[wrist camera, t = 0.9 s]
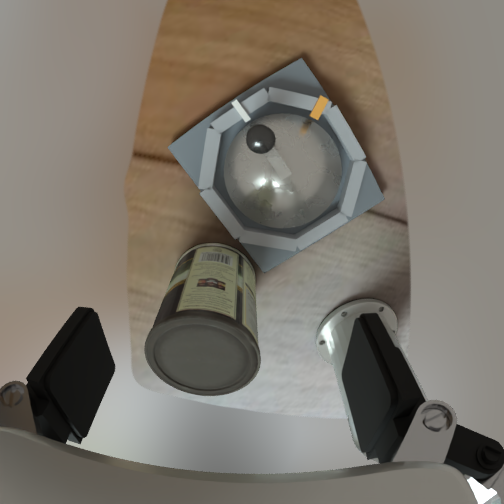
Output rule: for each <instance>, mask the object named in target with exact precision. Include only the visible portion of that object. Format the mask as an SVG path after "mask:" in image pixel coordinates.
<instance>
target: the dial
mask: <svg viewBox="0 0 504 504" xmlns="http://www.w3.org/2000/svg"><path fill="white" fill-rule="evenodd" d="M341 175H342V166H341V159H340V155H339V152H338V149H337V147H336V145H335V143H334V141H333V140H332V138H331V137H330V135H329V134H328V133H327V132H326V131H325V130H324V129H323V128H322V127H320V126H319V125H318V124H316V123H315V122H313V121H312V120H309V119H307V118H305V117H302V116H299V115H294V114H284V113H279V114H271V115H267V116H263V117H261V118H258V119H256V120H254V121H253V122H251V123H249V124H248V125H247V126H245V127H244V128H243V129H242V130H241V131H240V132H239V133H238V134H237V136H236V137H235V138H234V140H233V141H232V143H231V145H230V147H229V149H228V151H227V154H226V158H225V163H224V179H225V185H226V188H227V191H228V194H229V196H230V198H231V200H232V201H233V203H234V204H235V205H236V207H237V208H238V209H239V210H240V211H241V212H242V213H243V214H244V215H245V216H247V217H248V218H250V219H251V220H253V221H255V222H257V223H259V224H262V225H264V226H268V227H273V228H292V227H297V226H301V225H303V224H306V223H308V222H310V221H312V220H314V219H315V218H317V217H318V216H320V215H321V214H322V213H323V212H324V211H325V210H326V209H327V208H328V207H329V206H330V204H331V203H332V201H333V200H334V198H335V196H336V194H337V192H338V189H339V186H340V182H341Z"/></svg>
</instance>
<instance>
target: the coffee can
mask: <svg viewBox="0 0 504 504" xmlns="http://www.w3.org/2000/svg"><path fill="white" fill-rule="evenodd" d="M255 282H256V279H255V272H254V269H253V266H252V265H251V263H250V261H249V260H248V259H247V257H246V256H245V255H244V254H242V253H241V252H240V251H238V250H237V249H235V248H233V247H231V246H228V245H225V244H220V243H205V244H200V245H197V246H195V247H193V248H191V249H189V250H188V251H186V252H185V253H184V254H183V255H182V256H181V258H180V259H179V261H178V262H177V264H176V267H175V271H174V274H173V276H172V279H171V281H170V284H169V286H168V289H167V291H166V294H165V297H164V299H163V302H162V304H161V307H160V309H159V312H158V314H157V317H156V319H155V322H154V325H153V328H152V329H151V331H150V332H149V334H148V337H147V339H146V342H145V356H146V360H147V362H148V364H149V366H150V367H151V369H152V370H153V372H154V373H155V374H156V375H157V376H158V377H159V378H160V379H161V380H163V381H164V382H165V383H167V384H169V385H170V386H172V387H174V388H176V389H178V390H181V391H184V392H187V393H191V394H195V395H202V396H218V395H225V394H229V393H232V392H235V391H238V390H240V389H242V388H243V387H245V386H246V385H248V384H249V383H250V382H251V381H252V380H253V379H254V378H255V377H256V375H257V373H258V371H259V368H260V363H261V358H260V350H259V347H258V332H257V313H256V293H255Z"/></svg>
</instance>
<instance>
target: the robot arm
mask: <svg viewBox="0 0 504 504" xmlns="http://www.w3.org/2000/svg"><path fill="white" fill-rule="evenodd" d="M397 327H398V321H397V318H396V315H395V313H394V311H393V310H392V309H391V307H390V306H389V305H387V304H386V303H385V302H382V301H380V300H376V299H360V300H355V301H352V302H349V303H346V304H344V305H342V306H341V307H339V308H337V309H336V310H334V311H333V312H332V313H330V314H329V315H328V316H327V317H326V318H325V320H324V321H323V322H322V324H321V325H320V327H319V329H318V331H317V335H316V346H317V351H318V353H319V355H320V356H321V358H322V359H323V360H324V361H326V362H327V363H329V364H331V365H333V368H334V371H335V375H336V378H337V382H338V385H339V389H340V393H341V396H342V400H343V404H344V408H345V411H346V415H347V419H348V422H349V427H350V431H351V434H352V438H353V441H354V444H355V445H356V447H357V448H358V450H359V451H360V452H361V453H362V454H363V455H365V456H366V457H367V459H368V460H369V459H372V460H374V461H377V462H379V463H380V464H373V465H366V466H359V467H352V468H345V469H338V470H337V469H336V470H327V471H315V472H303V473H285V474H233V473H232V474H231V473H214V472H202V471H191V470H183V469H174V468H167V467H160V466H154V465H149V464H143V463H138V462H133V461H128V460H123V459H119V458H115V457H110V456H106V455H102V454H99V453H95V452H91V451H88V450H84V449H80V448H77V447H74V446H71V445H67V444H66V442H67V439H68V440H69V441H72V442H75V443H78V444H81V441H82V439H83V438H85V437H86V436H87V434H88V432H89V430H90V427H91V425H92V422H93V420H94V417H95V415H96V413H97V410H98V408H99V406H100V403H101V401H102V399H103V397H104V394H105V392H106V390H107V387H108V385H109V383H110V381H111V379H112V376H113V374H114V372H115V364H114V360H113V358H112V355H111V353H110V350H109V347H108V344H107V341H106V338H105V335H104V332H103V329H102V326H101V323H100V320H99V316H98V314H97V313H96V312H94V310H93V309H92V308H86V307H78V308H77V309H76V310H75V311H74V312H73V314H72V315H71V316H70V317H69V319H68V320H67V321H66V323H65V324H64V325H63V327H62V328H61V330H60V331H59V332H58V333H57V335H56V336H55V338H54V339H53V340H52V342H51V343H50V345H49V346H48V347H47V349H46V350H45V351H44V353H43V354H42V356H41V357H40V359H39V360H38V361H37V363H36V364H35V366H34V367H33V369H32V370H31V372H30V373H29V375H28V376H27V378H26V379H27V381H28V383H27V385H25V384H24V383H22V382H20V381H12V382H9V383H7V384H5V385H4V386H2V387H1V389H0V504H504V449H503V447H502V446H501V445H500V443H499V442H497V441H495V440H493V439H491V438H488V437H486V436H484V435H481V434H479V433H477V432H474V431H472V430H469V429H467V428H465V427H463V426H460V425H458V424H457V417H456V413H455V412H454V410H453V408H452V407H451V406H449V405H448V404H447V403H445V402H443V401H438V400H430V401H428V399H427V397H426V395H425V393H424V391H423V389H422V387H421V385H420V383H419V381H418V379H417V377H416V375H415V373H414V371H413V369H412V367H411V365H410V363H409V361H408V359H407V357H406V355H405V353H404V351H403V350H402V348H401V346H400V344H399V342H398V340H397V338H396V337H395V335H396V332H397Z"/></svg>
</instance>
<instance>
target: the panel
mask: <svg viewBox="0 0 504 504" xmlns="http://www.w3.org/2000/svg"><path fill="white" fill-rule="evenodd" d="M279 113H284V114H294V115H299V116H302V117H305V118H307V119H309V120H312V121H313V122H315V123H316V124H318V125H319V126H320V127H322V128H323V129H324V130H325V131H326V132H327V133H328V134H329V135H330V137H331V138H332V140H333V141H334V143H335V145H336V147H337V149H338V152H339V155H340V159H341V166H342V175H341V182H340V186H339V189H338V192H337V194H336V196H335V198H334V200H333V201H332V203H331V204H330V206H329V207H328V208H327V209H326V210H325V211H324V212H323V213H322V214H321V215H320V216H318V217H317V218H315V219H314V220H312V221H310V222H308V223H306V224H303V225H301V226H297V227H292V228H273V227H268V226H264V225H262V224H259V223H257V222H255V221H253V220H251V219H250V218H248V217H247V216H245V215H244V214H243V213H242V212H241V211H240V210H239V209H238V208H237V207H236V205H235V204H234V203H233V201H232V200H231V198H230V196H229V194H228V191H227V188H226V185H225V179H224V163H225V158H226V154H227V151H228V149H229V147H230V145H231V143H232V141H233V140H234V138H235V137H236V136H237V134H238V133H239V132H240V131H241V130H242V129H243V128H244V127H245V126H247V125H248V124H249V123H251V122H253V121H254V120H256V119H258V118H261V117H263V116H267V115H271V114H279ZM168 149H169V150H170V151H171V152H172V154H173V155H174V156H175V158H176V159H177V160H178V162H179V163H180V164H181V166H182V167H183V168H184V169H185V171H186V172H187V173H188V175H189V176H190V177H191V179H192V180H193V181H194V183H195V184H196V185H197V186H198V189H200V190H201V192H200V193H199V194H200V195H201V196H202V197H203V199H204V200H205V201H206V203H207V204H208V205H209V207H210V208H211V209H212V210H213V212H214V213H215V214H216V216H217V217H218V218H219V220H220V221H221V222H222V223H223V225H224V226H225V227H226V229H227V230H228V231H229V233H230V234H231V235H232V236H233V238H234V239H238V240H239V242H240V243H241V244H242V245H243V246H244V248H245V249H246V250H247V252H248V253H249V254H250V256H251V257H252V258H253V259H254V261H255V262H256V263H257V265H258V266H259V267H260V269H261V270H262V271H263V272H264V273H265V272H267V271H269V270H270V269H272V268H274V267H275V266H277V265H279V264H280V263H282V262H284V261H285V260H287V259H289V258H290V257H292V256H294V255H295V254H297V253H299V252H300V251H302V250H304V249H305V248H307V247H309V246H310V245H312V244H313V243H315V242H317V241H318V240H320V239H322V238H323V237H325V236H327V235H328V234H330V233H331V232H333V231H335V230H336V229H338V228H340V227H341V226H343V225H344V224H346V223H348V222H349V221H351V220H352V219H354V218H356V217H357V216H359V215H360V214H362V213H364V212H365V211H367V210H368V209H370V208H372V207H373V206H375V205H376V204H378V203H380V202H381V201H383V200H384V199H385V198H384V196H383V194H382V192H381V190H380V188H379V186H378V184H377V182H376V180H375V178H374V176H373V174H372V172H371V170H370V168H369V166H368V164H367V162H366V161H365V159H364V158H366V156H365V154H364V152H363V150H362V148H361V147H360V145H359V143H358V141H357V139H356V138H355V136H354V134H353V132H352V131H351V129H350V127H349V125H348V124H347V122H346V120H345V119H344V117H343V115H342V114H341V112H340V110H339V109H338V107H337V105H333V104H332V102H331V100H330V99H329V97H328V96H327V94H326V93H325V91H324V90H323V88H322V87H321V85H320V84H319V82H318V81H317V79H316V78H315V76H314V75H313V73H312V72H311V70H310V69H309V68H308V66H307V65H306V63H305V62H304V60H303V59H302V58H301V59H299V60H297V61H295V62H293V63H292V64H290V65H288V66H286V67H285V68H283V69H281V70H279V71H278V72H276V73H274V74H273V75H271V76H269V77H268V78H266V79H264V80H263V81H261V82H259V83H258V84H256V85H255V86H253V87H251V88H250V89H248V90H247V91H245V92H244V93H242V94H240V95H239V96H237V97H236V98H234V99H233V100H231V101H230V102H228V103H227V104H225V105H224V106H223V107H221V108H220V109H218V110H217V111H215V112H214V113H212V114H211V115H210V116H208V117H207V118H205V119H204V120H203V121H201V122H200V123H199V124H197V125H196V126H194V127H193V128H192V129H190V130H189V131H188V132H186V133H185V134H184V135H183V136H181V137H180V138H179V139H177V140H176V141H175V142H173V143H172V144H171V145H170V146H168Z"/></svg>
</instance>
